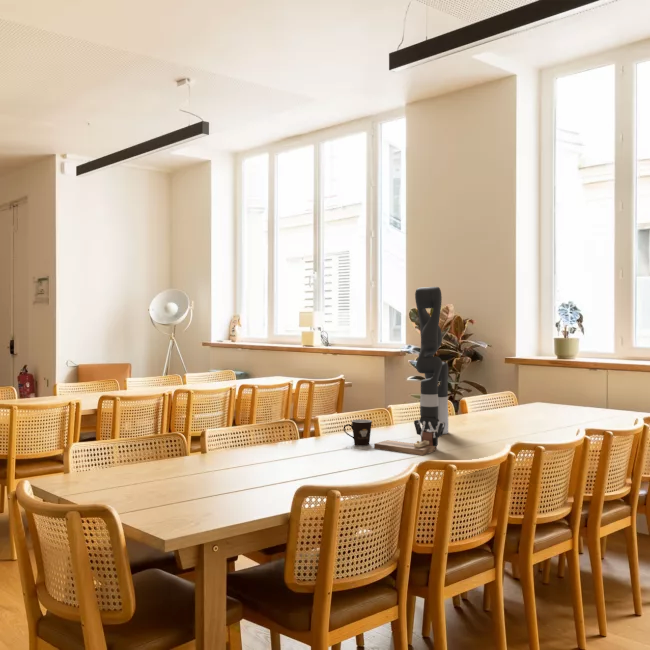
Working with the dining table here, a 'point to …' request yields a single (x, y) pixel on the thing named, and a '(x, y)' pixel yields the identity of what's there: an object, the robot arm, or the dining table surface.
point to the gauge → (425, 440)
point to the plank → (403, 447)
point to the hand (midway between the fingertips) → (429, 445)
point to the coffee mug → (360, 431)
